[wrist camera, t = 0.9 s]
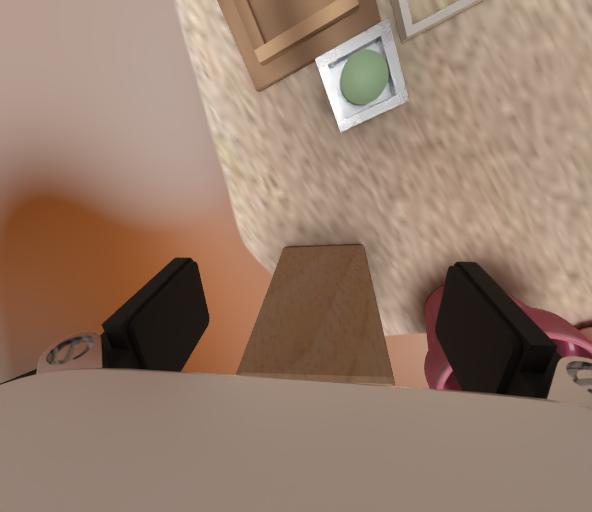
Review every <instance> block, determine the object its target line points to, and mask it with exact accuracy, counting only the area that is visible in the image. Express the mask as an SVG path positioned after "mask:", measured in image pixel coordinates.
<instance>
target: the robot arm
mask: <svg viewBox="0 0 592 512" xmlns="http://www.w3.org/2000/svg"><path fill="white" fill-rule="evenodd" d="M208 324H209V313H208V309H207V304H206V300H205V296H204V292H203V287H202V283H201V278H200V274H199V270H198V265H197V263H196V262H193V260H192V259H191V258H174V259H173V260H172V261H171V262H170V263H169V264H168V265H167V266H166V267H164V268H163V269H162V270H161V271H160V272H159V273H158V274H157V275H156V276H154V277H153V278H152V279H151V280H150V281H149V282H148V283H147V284H146V285H145V286H144V287H142V288H141V289H140V290H139V291H138V292H137V293H136V294H135V295H134V296H132V297H131V298H130V299H129V300H128V301H127V302H126V303H125V304H124V305H123V306H122V307H120V308H119V309H118V310H117V311H116V312H115V313H114V314H113V315H112V316H111V317H109V319H107V320H106V321H105V322H104V323H103V324H102V326H103V329H104V331H105V332H104V333H102V334H101V335H99V334H98V333H96V332H81V333H77V334H73V335H71V336H68V337H66V338H64V339H62V340H60V341H58V342H56V343H55V344H53V345H52V346H51V347H49V348H48V349H47V350H46V351H45V352H44V353H43V354H42V356H41V358H40V360H39V363H38V367H37V369H36V370H33V371H30V372H28V373H26V374H23V375H21V376H18V377H16V378H14V379H11V380H9V381H6V382H4V383H1V384H0V512H592V359H589V358H583V357H578V356H568V357H565V358H563V357H562V356H561V355H560V354H559V353H558V352H557V351H556V349H557V347H558V346H557V345H556V344H555V343H554V342H553V341H552V340H551V339H550V338H549V336H548V335H547V334H546V333H545V332H544V331H543V330H542V329H541V328H540V327H539V326H538V325H537V324H536V323H535V322H534V321H533V320H532V319H531V318H530V317H529V316H528V315H527V314H526V313H525V312H524V311H523V310H522V309H521V308H520V307H519V306H518V305H517V304H516V303H515V302H514V301H513V300H512V299H511V298H510V297H509V296H508V295H507V294H506V293H505V292H504V291H503V289H502V288H501V287H500V286H499V285H498V284H497V283H496V282H495V281H494V280H493V279H492V278H491V277H490V276H489V275H488V274H487V273H486V272H485V271H484V270H483V269H482V268H481V267H480V266H479V265H478V264H477V263H476V262H456V263H455V264H454V266H450V267H449V269H448V273H447V277H446V281H445V286H444V290H443V294H442V299H441V303H440V307H439V312H438V316H437V321H436V325H435V333H436V336H437V339H438V341H439V343H440V345H441V347H442V349H443V351H444V353H445V355H446V358H447V360H448V362H449V364H450V366H451V368H452V370H453V372H454V374H455V377H456V379H457V381H458V383H459V385H460V387H461V389H462V391H455V390H442V389H428V388H413V387H400V386H387V385H373V384H359V383H345V382H331V381H316V380H301V379H286V378H271V377H256V376H240V375H223V374H207V373H191V372H181V370H182V368H183V367H184V365H185V363H186V362H187V360H188V359H189V357H190V355H191V353H192V352H193V350H194V348H195V346H196V345H197V343H198V341H199V340H200V338H201V336H202V335H203V333H204V331H205V330H206V328H207V326H208Z"/></svg>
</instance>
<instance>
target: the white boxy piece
mask: <svg viewBox="0 0 592 512" xmlns="http://www.w3.org/2000/svg"><path fill="white" fill-rule="evenodd" d="M365 49H369V50H374V51H376V52H378V53H379V54H381V56H382V57H383V58H384V59H385V61H386V64H387V67H388V80H387V84H386V86H385V89H384V90H383V92H382V93H381V95H380V96H379V97H378V98H377V99H375V100H374V101H372V102H370V103H367V104H364V105H355V104H352V103H350V102H349V101H347V100H346V99H345V97H344V96H343V94H342V92H341V87H340V78H341V73H342V70H343V67H344V65H345V63H346V61H347V60H348V59H349V58H350V57H351V56H352V55H353V54H355V53H356V52H358V51H361V50H365ZM315 61H316V64H317V67H318V70H319V72H320V75H321V78H322V81H323V84H324V87H325V90H326V92H327V95H328V98H329V101H330V104H331V107H332V110H333V112H334V115H335V118H336V121H337V124H338V127H339V130H340V132H342V131H345V130H347V129H349V128H351V127H353V126H355V125H357V124H360V123H362V122H364V121H366V120H368V119H370V118H373V117H375V116H377V115H379V114H381V113H383V112H385V111H388V110H390V109H392V108H394V107H396V106H398V105H400V104H403V103H405V102H407V101H409V98H408V94H407V90H406V86H405V82H404V78H403V74H402V70H401V66H400V62H399V58H398V54H397V50H396V46H395V42H394V38H393V34H392V30H391V26H390V22H389V18H387V19H385V20H383V21H382V22H380V23H378V24H376V25H375V26H373V27H371V28H369V29H367V30H366V31H364V32H362V33H360V34H358V35H357V36H355V37H353V38H351V39H350V40H348V41H346V42H344V43H342V44H341V45H339V46H337V47H335V48H333V49H332V50H330V51H328V52H326V53H324V54H323V55H321V56H319V57H317V58H316V59H315Z"/></svg>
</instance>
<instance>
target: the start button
mask: <svg viewBox="0 0 592 512" xmlns="http://www.w3.org/2000/svg"><path fill="white" fill-rule="evenodd" d="M387 80H388V67H387V64H386V61H385V59H384V58H383V57H382V56H381V54H379V53H378V52H376V51H374V50H369V49H365V50H361V51H358V52H356V53H355V54H353V55H352V56H351V57H350V58H349V59H348V60H347V61H346V63H345V65H344V67H343V70H342V73H341V78H340V87H341V92H342V94H343V96H344V97H345V99H346V100H347V101H349V102H350V103H352V104H355V105H364V104H367V103H370V102H372V101H374V100H375V99H377V98H378V97H379V96H380V95H381V93H382V92H383V90H384V89H385V86H386V84H387Z"/></svg>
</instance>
